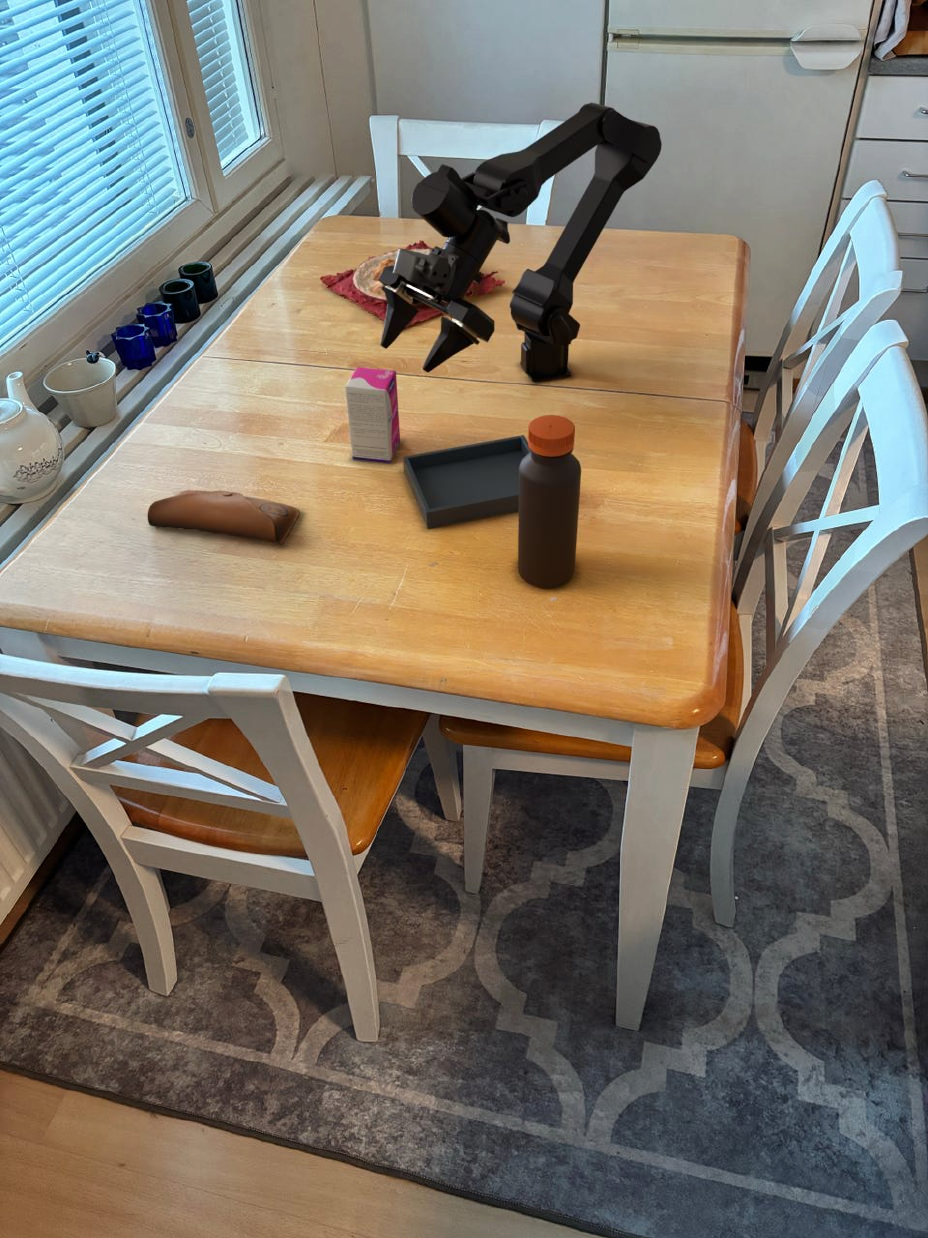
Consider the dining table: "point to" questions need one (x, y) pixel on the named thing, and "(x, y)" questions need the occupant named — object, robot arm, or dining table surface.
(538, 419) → the bottle
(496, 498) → the serving tray
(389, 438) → the supplement box
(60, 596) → the dining table surface
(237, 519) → the sunglasses case
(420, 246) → the plate with food
